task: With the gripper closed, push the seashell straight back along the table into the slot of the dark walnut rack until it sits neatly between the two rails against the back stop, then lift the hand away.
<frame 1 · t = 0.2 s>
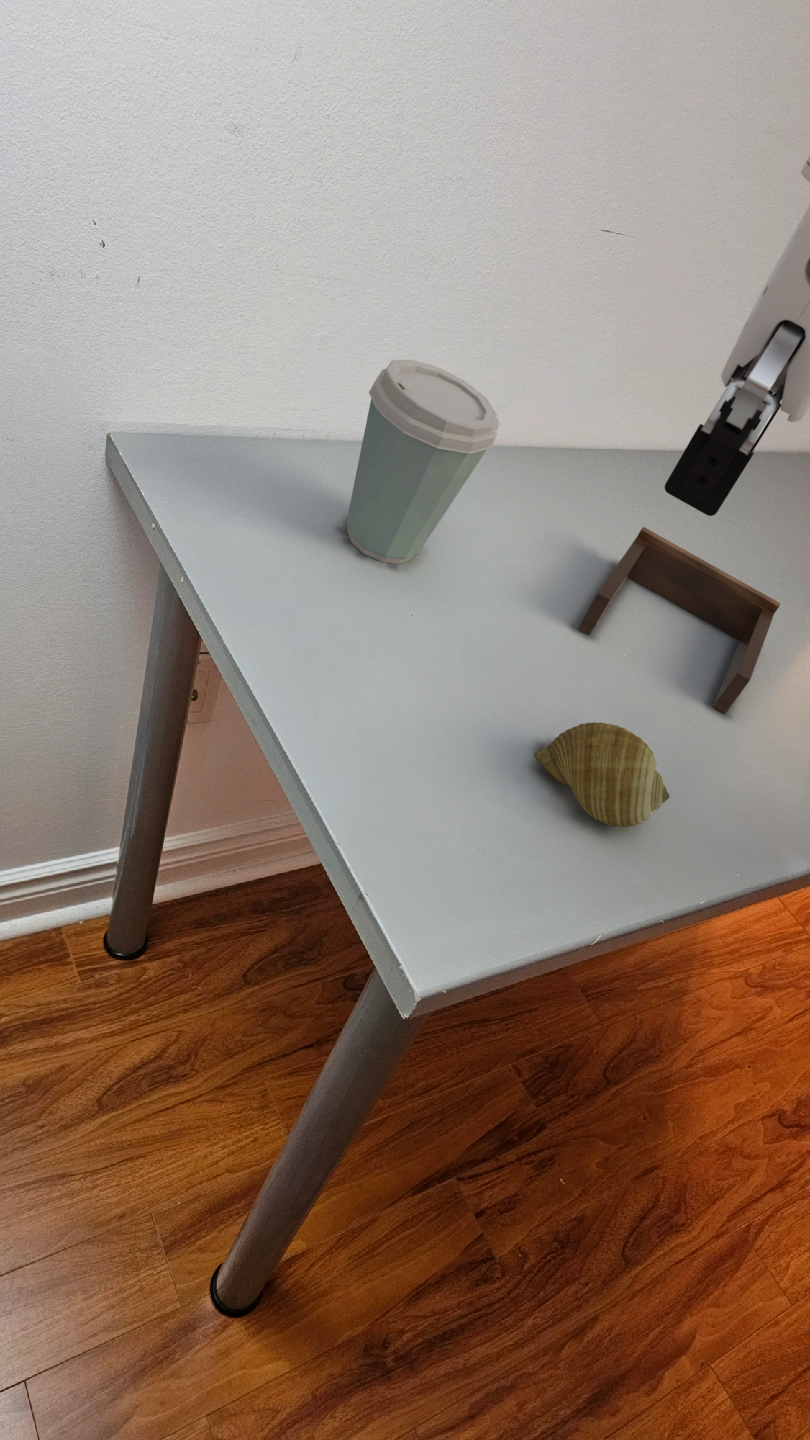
hand: (706, 474, 62), 24 cm above the table, tool pointing down, fingers open, 9 cm apart
disposable coffee cup: (382, 546, 91), on the table
seashell: (585, 793, 76), on the table
rack: (666, 640, 95), on the table
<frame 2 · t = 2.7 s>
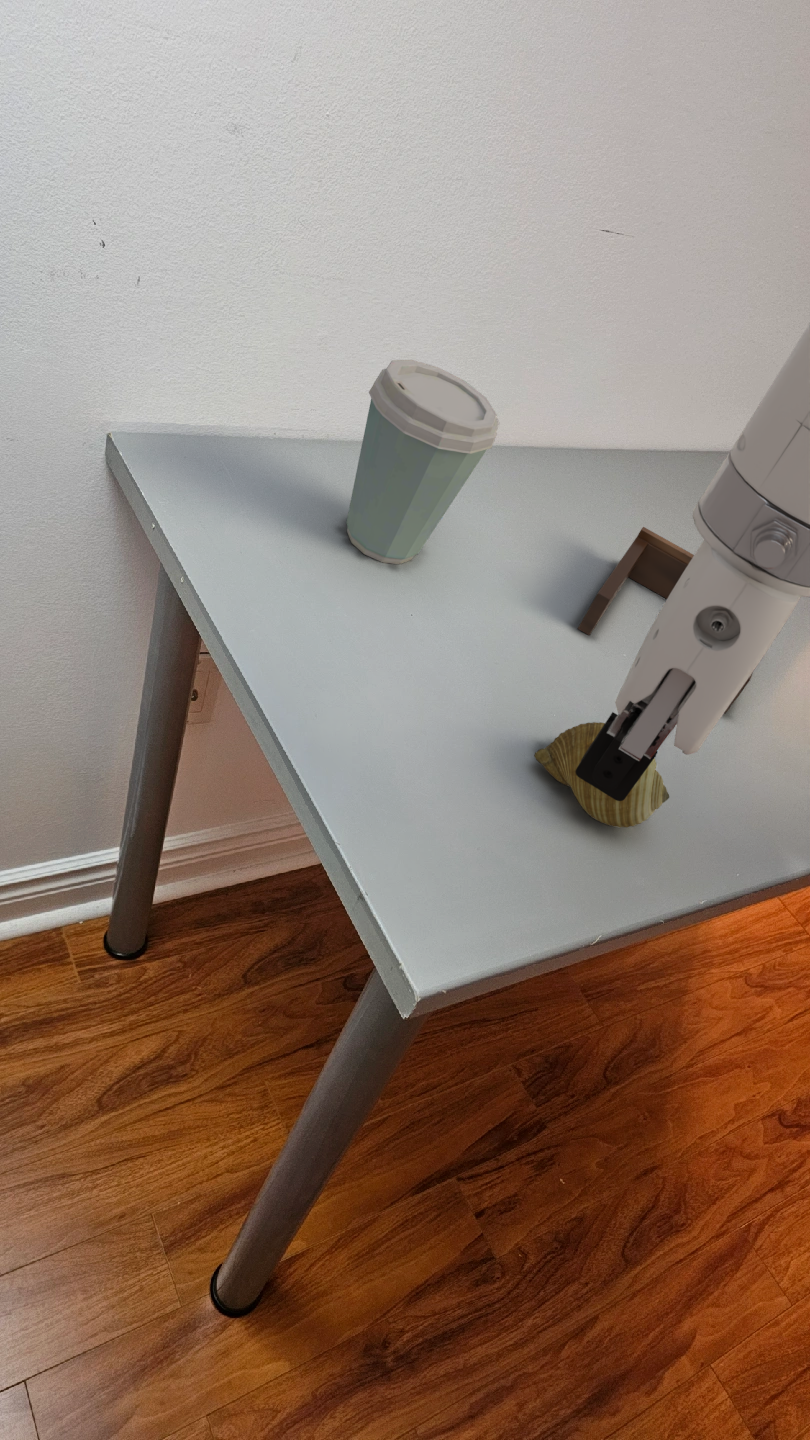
hand: (601, 780, 61), 10 cm above the table, tool pointing down, fingers closed
nothing on the table moved.
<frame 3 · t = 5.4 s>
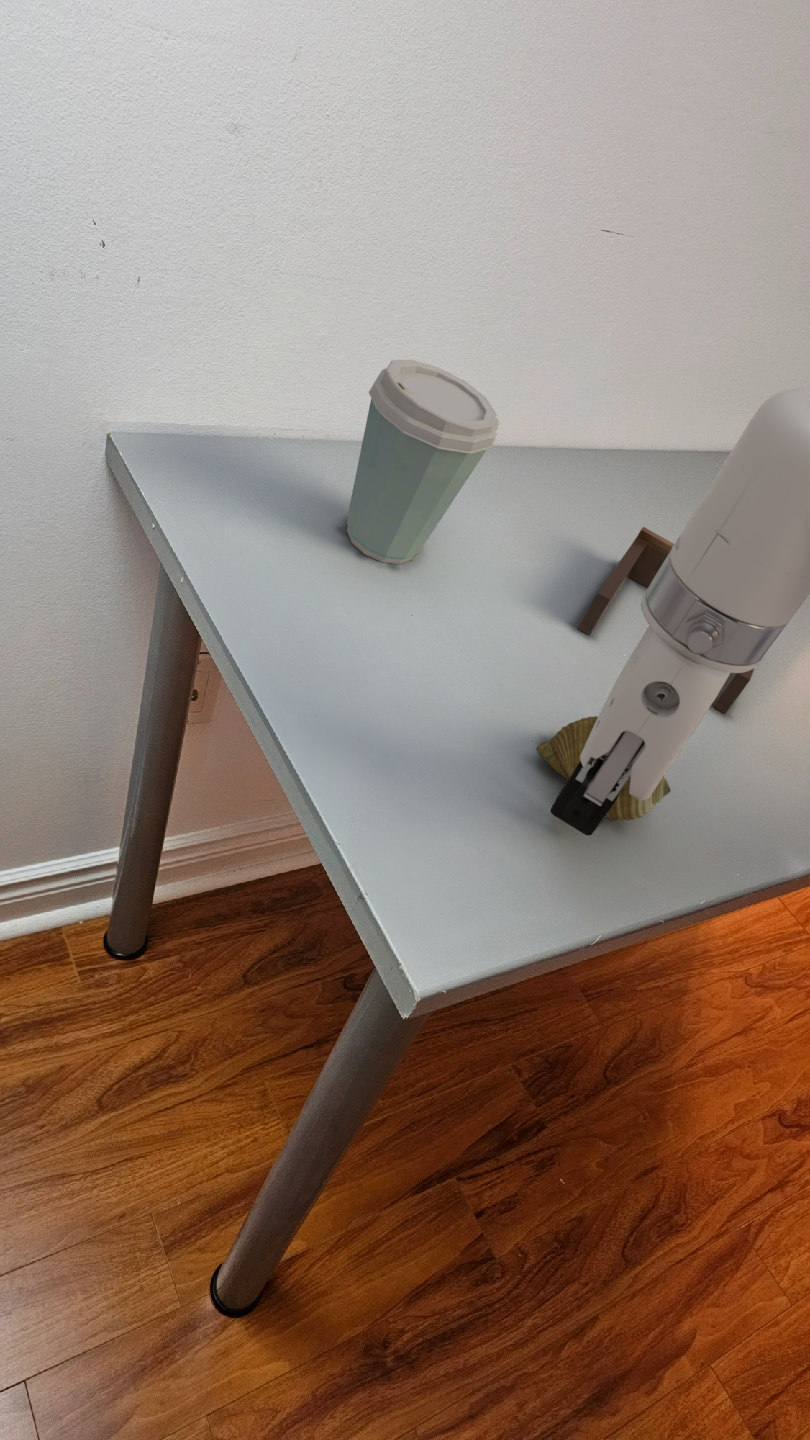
hand: (572, 817, 71), 1 cm above the table, tool pointing down, fingers closed
seashell: (587, 787, 77), on the table, touching gripper
everything else where it was.
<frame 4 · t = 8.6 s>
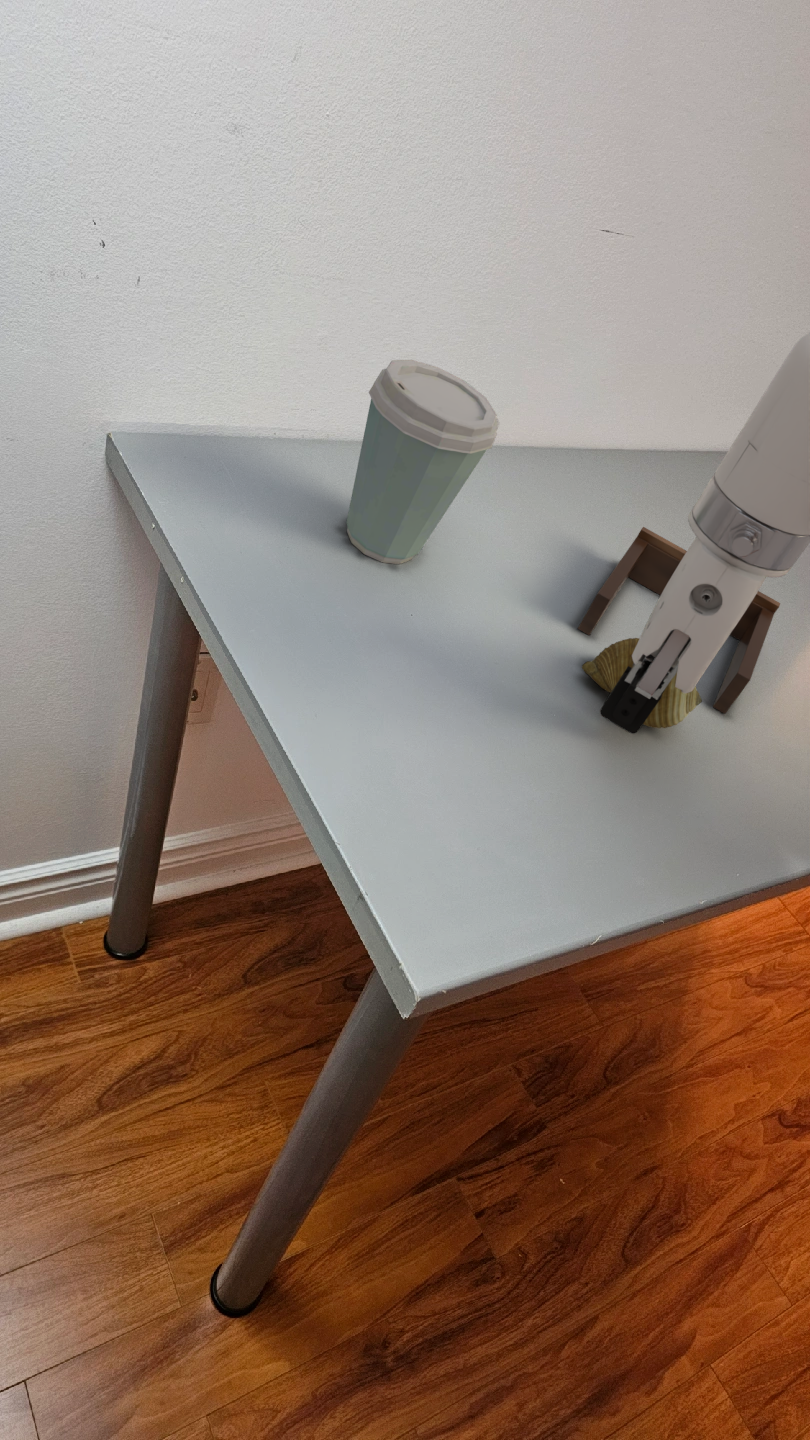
hand: (619, 719, 81), 2 cm above the table, tool pointing down, fingers closed
seashell: (626, 701, 86), on the table, touching gripper
everything else where it was.
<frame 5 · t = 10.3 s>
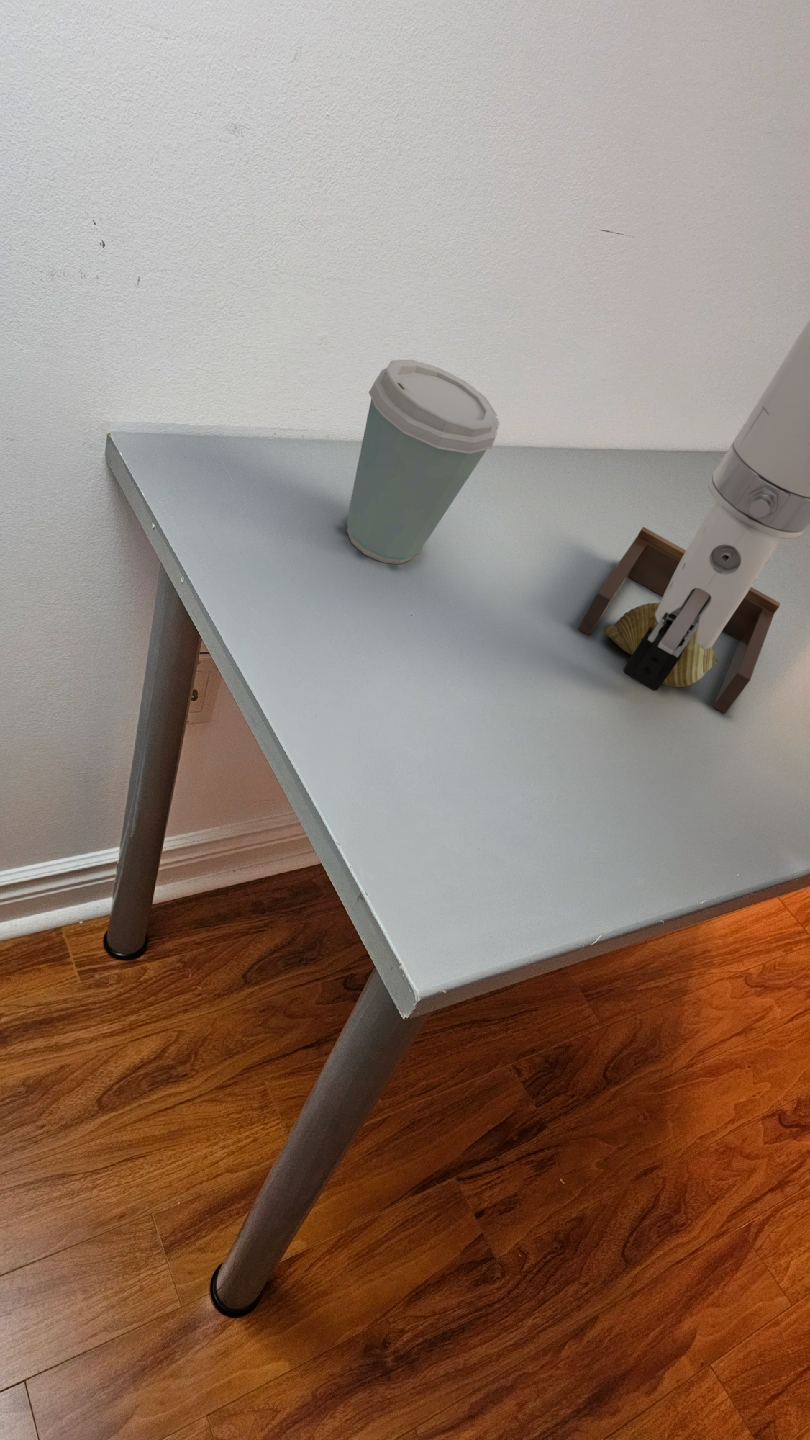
hand: (641, 677, 86), 2 cm above the table, tool pointing down, fingers closed
seashell: (645, 663, 91), on the table, touching gripper
everything else where it was.
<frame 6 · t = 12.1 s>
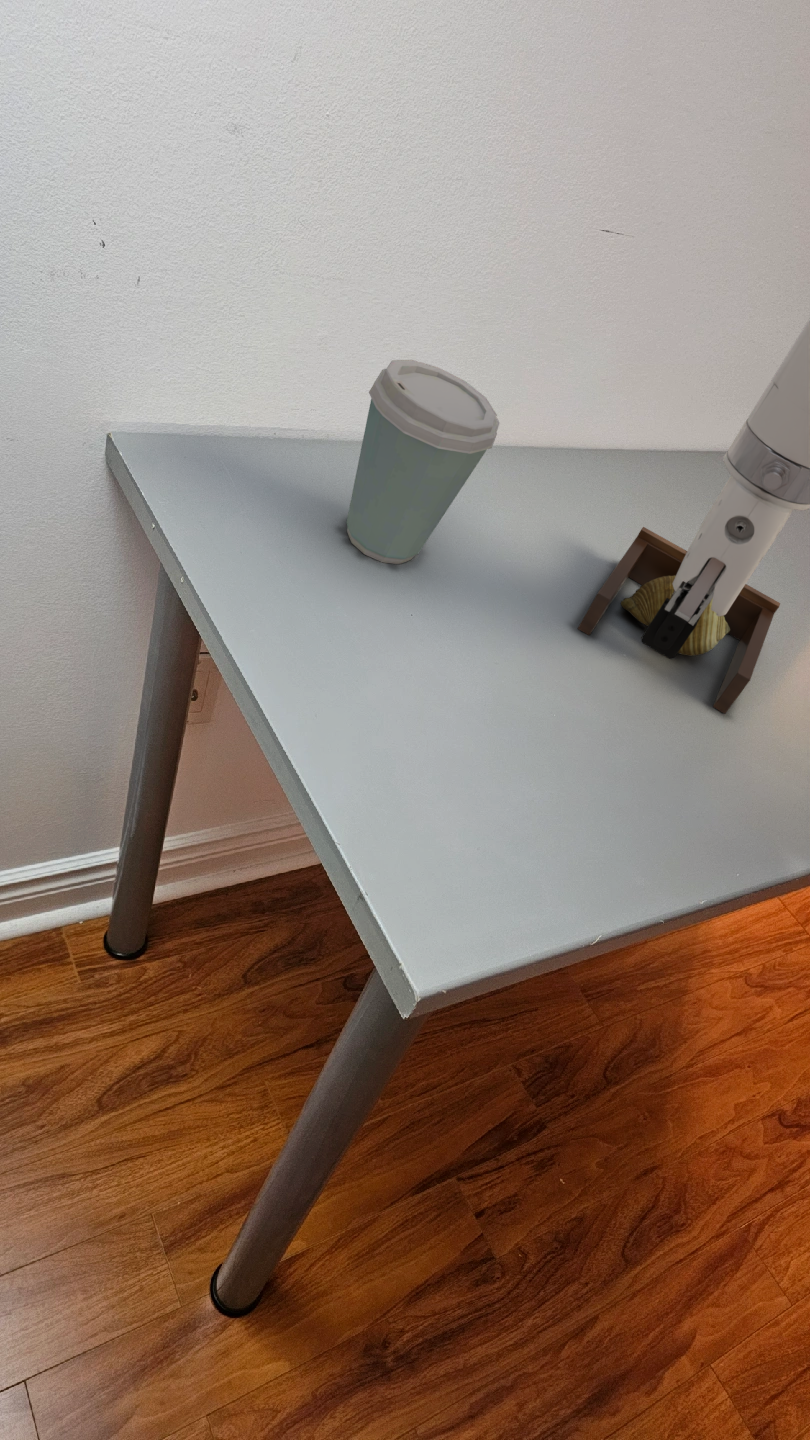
hand: (658, 646, 90), 2 cm above the table, tool pointing down, fingers closed
seashell: (660, 634, 96), on the table, touching gripper
everything else where it was.
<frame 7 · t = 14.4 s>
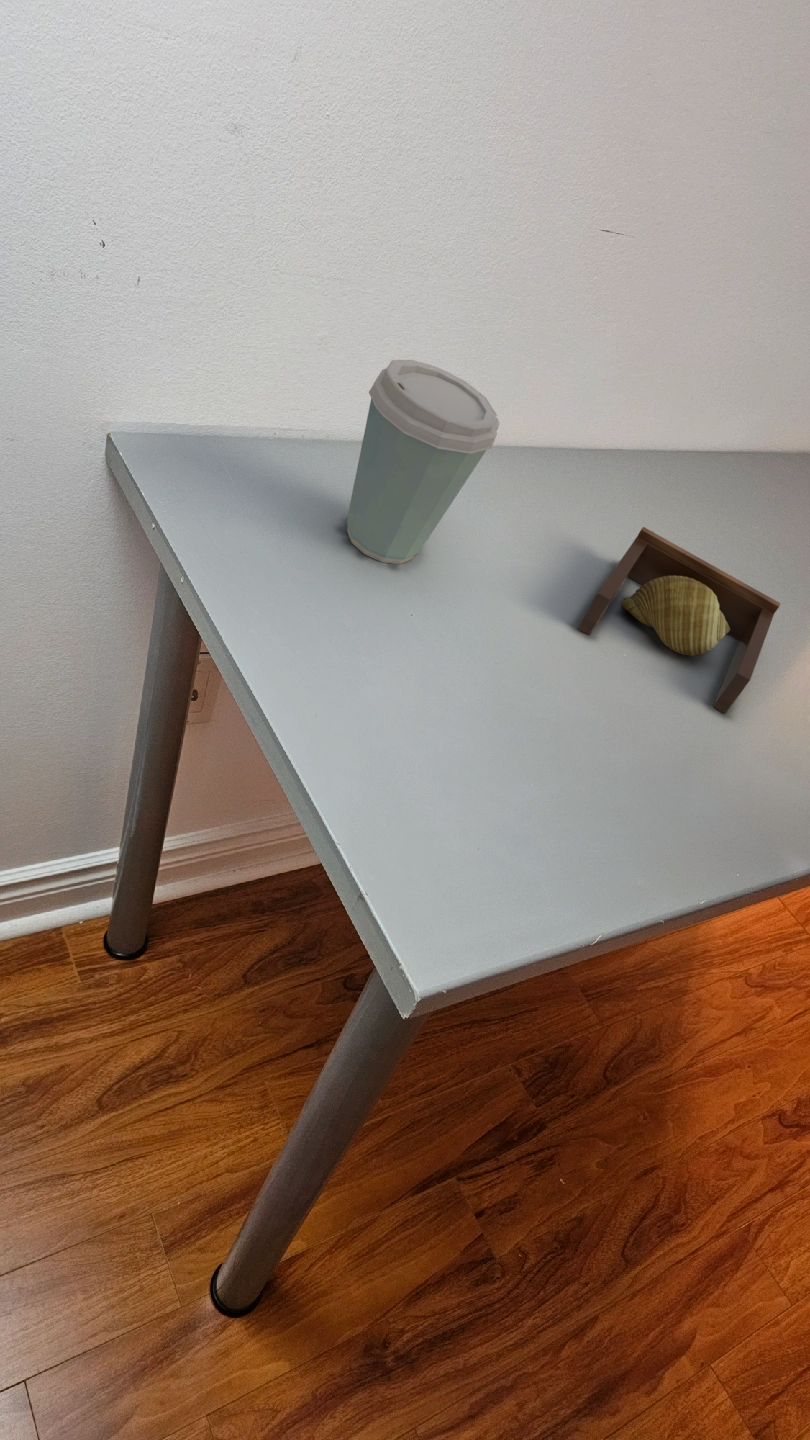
seashell: (660, 634, 96), on the table
everything else where it was.
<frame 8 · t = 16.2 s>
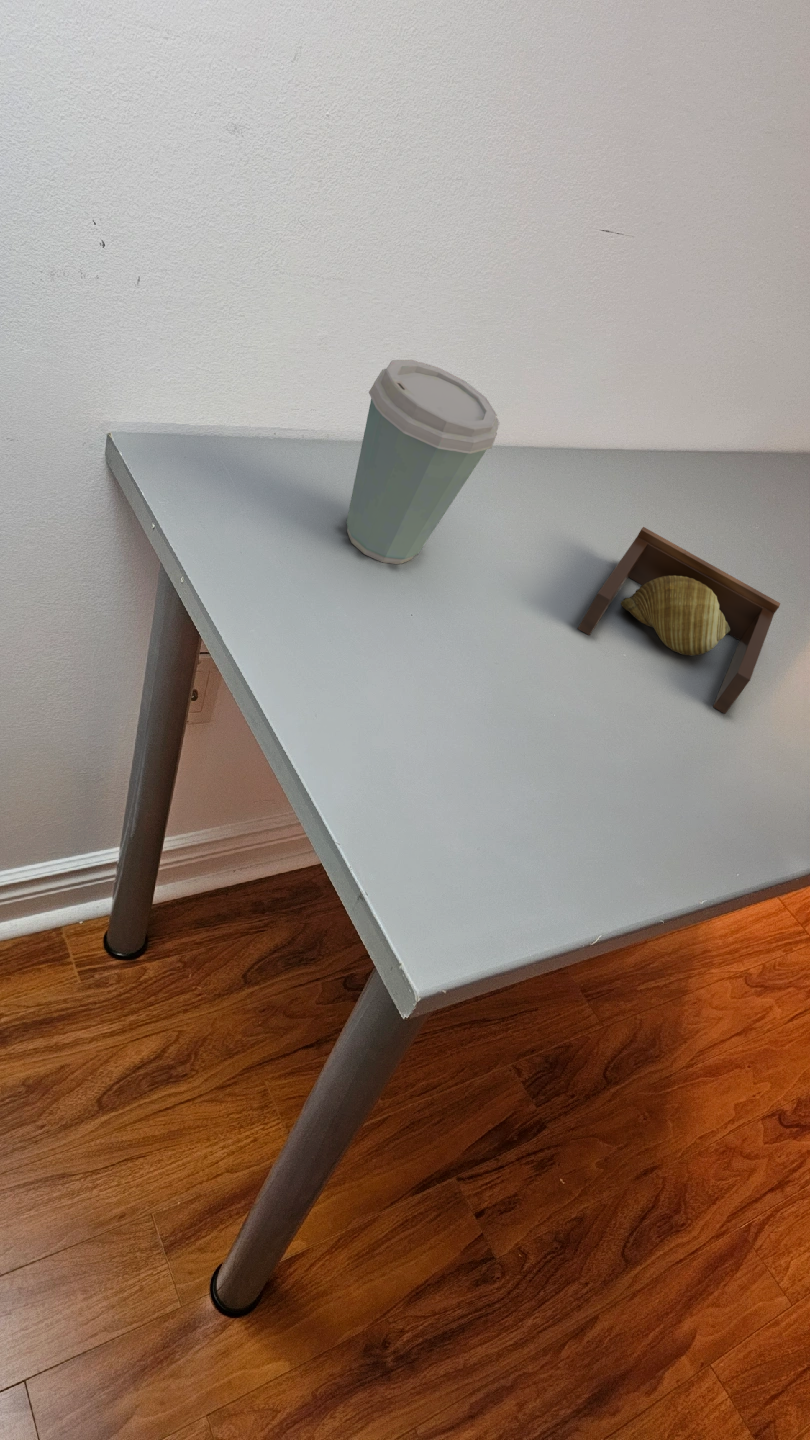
nothing on the table moved.
at the end: seashell inside the target area on the rack (0.7 cm from its centre), point 0.0 cm above the rack's base; seashell moved 25.9 cm from its start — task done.
